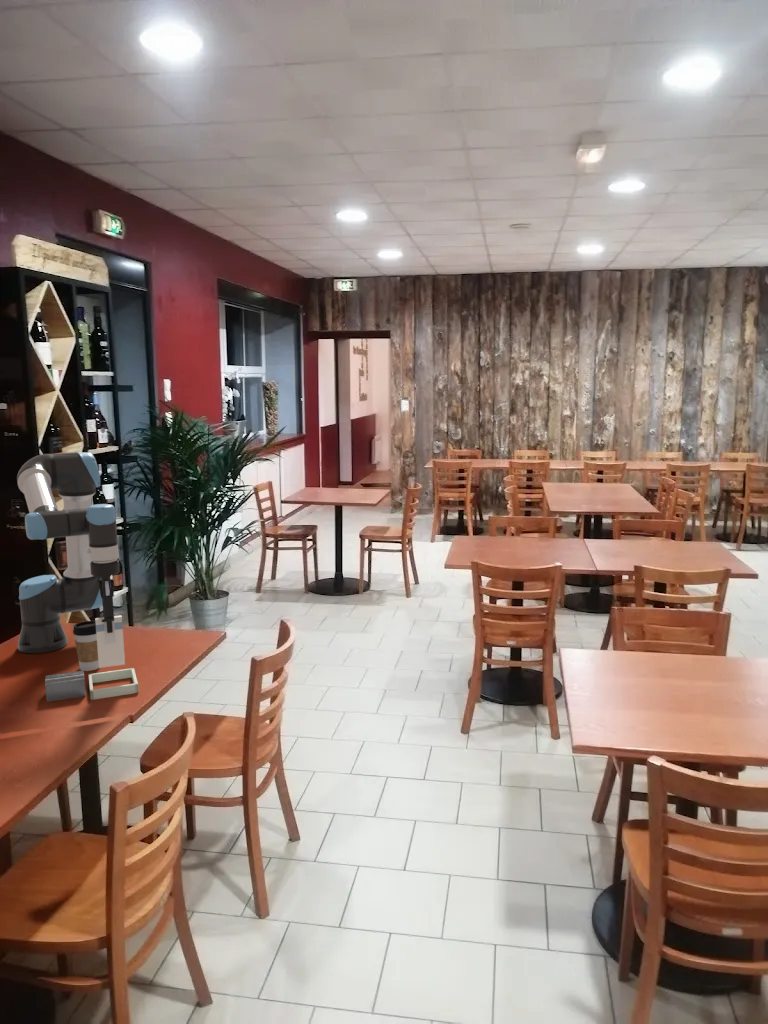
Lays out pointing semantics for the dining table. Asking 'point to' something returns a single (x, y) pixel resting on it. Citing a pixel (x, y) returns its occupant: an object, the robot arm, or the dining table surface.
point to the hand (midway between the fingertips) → (110, 641)
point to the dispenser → (65, 686)
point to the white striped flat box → (113, 651)
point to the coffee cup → (86, 645)
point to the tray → (116, 689)
